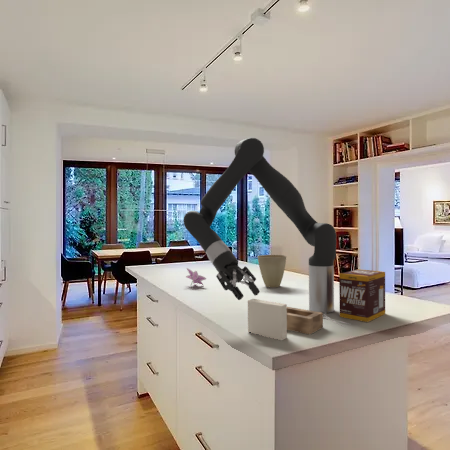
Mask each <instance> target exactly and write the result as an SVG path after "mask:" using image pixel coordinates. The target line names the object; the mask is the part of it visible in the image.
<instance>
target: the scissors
mask: <svg viewBox="0 0 450 450" xmlns="http://www.w3.org/2000/svg"><path fill="white" fill-rule="evenodd" d="M323 320H327V321H330V322H333V323H335V324H337V325H339V326H341V327H344V328H346V326H344V325H343V324H347V325H350V323H348V322H346V321H345V322H344V321H341V320H337V319H333V318H331V317H329V316H328V313H323ZM341 323H343V324H341Z"/></svg>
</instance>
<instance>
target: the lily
mask: <svg viewBox="0 0 450 450" xmlns="http://www.w3.org/2000/svg"><path fill="white" fill-rule="evenodd" d="M186 270H187V272H188V274H189V275H186V276H185V278H187V279H190V280H192V281H191V284H190V286H192V285H193V284H194V283H197V284H199V285H200V284H202V285H203V286H204V284H203V282H202V281H206V280H207V277H205V276H204V275H201V274H199V273H198V270H194V271H193V270H191V269H190V268H188V267H186ZM197 284H196V285H197ZM202 285H201V286H202Z"/></svg>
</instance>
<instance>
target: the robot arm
mask: <svg viewBox="0 0 450 450" xmlns="http://www.w3.org/2000/svg"><path fill="white" fill-rule="evenodd" d="M264 153H265V147H264V145H263V143H262V141H261V140H260V139H258V138H255V137H246V138H244V139H242V140H240V141H238V142H237V144H236V145H235V146H234V155H235V156H234V158H233V160H232V161H231V163H230V164H229V166H228V167H226V169H225V171H224V172H223V173H222V174H221V175H220V176H219V177H218V178H217V179H216V180H215V181H214V182H213V184H212V185H211V186H210V187H209V189H208V190H207V191H206V193H205V195H204V196H203V197H202V198H201V200H200V205H201V206H202V207H201V209H200V210H199V212H198V211H197V210H191V211H188V212H187V213H185V215H184V217H183V224H184V227H185V229H186V230H187V231H188V233H189V234H190V235H191V236H192V237H193V238H194V240H195V241H197V242H198V244H199V245H200V247H201V249H202V250H203V251H204V252H205V254H206V256H207V258H208V260H209V261H210V263H211V264H212V265H213V267H214V268H215V269H216V271H217V274H216V275H215V277H216V278H217V280H218V283H220V285H221V287H222V288H223V289H224V291H230V292H232V294H233V296H234V297H235V298H236V299H237V300H238V301H240V300H242V299H243V298H244V294H243V292H242V291H241V290H240V288H239V287H238V286H237V283H241V284H242V285H246V286H247V287H248V289H249V290H250V291H251V293H252V294H253V295H254V296H258V295H259V294H260V289H259V288H258V286H257V285H256V284H255V281H256V280H257V277H255V275H254V274H253V273H252V272H251V271H250V269H249V268H248V267H247V266H244V267H243V268H241V267H240V266H239V260H238V259H237V257H236V255H234V253H233V252H232V250H231V249H230V248H229V246H228V245H227V244H226V243H225V241H223V240H222V238H221V237H220V236H219V235H218V233H217V232H216V231H215V230H213V229H212V228H211V226H212V225H213V223H214V220H215V218H216V215H217V213H218V211H219V210H220V208H221V207H222V206H223V205H224V204H225V202H226V200H227V199H228V198H229V196H230V194H232V192H233V190H234V189H235V188H236V186H237V185H238V184H240V183H239V182H240V181H241V180H242V179H243V178H244V177H245V176H246V174H247V173H248V172H249V173H250V174H252V176H253V177H254V178H255V179H256V180H257V181H258V183H259V184H260V186H261V187H262V188H263V189H264V191H265V192H266V193H267V195H268V196H269V197H270V198H271V200H272V201H273V202H274V203H275V204H276V205H277V207H278V208H279V209H281V211H282V212H283V213H284V215H285V216H286V217H287V218H288V219H289V220H290V221H291V222H292V223H293V224H294V225H295V227H296V228H297V230H298V231H299V233H300V234H301V236H302V237H303V239H304V240H305V242H306V243H307V244H308V245H310V246H312V247H314V250H313V254H312V255H311V256H310V257H309V258H308V310H310V311H316V312H322V313H323V314H325V313H327V314H328V313H333V312H334V311H335V277H334V276H335V273H334V272H335V269H334V267H335V266H334V263H335V262H334V261H335V259H336V256H337V232H336V229H335V228H334V226H333V225H332V224H330V223H326V222H325V223H324V222H322V223H321V222H318V221H316V220H315V219H314V218H313V216H312V215H311V214H310V213H309V212H308V210H307V208H306V206H305V203H304V199H303V197H302V194H301V192H300V191H299V190H298V189H297V188H296V186H295V185H294V184H293V183H292V182H291V181H290V180H289V179H288V177H286V176H285V175H283V174H282V173H281V172H280V171H279V170H278V169H276V168H275V167H273V166H272V165H271V164H270V163H269V162H268V161H267V159H266V158H265V156H264Z"/></svg>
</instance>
